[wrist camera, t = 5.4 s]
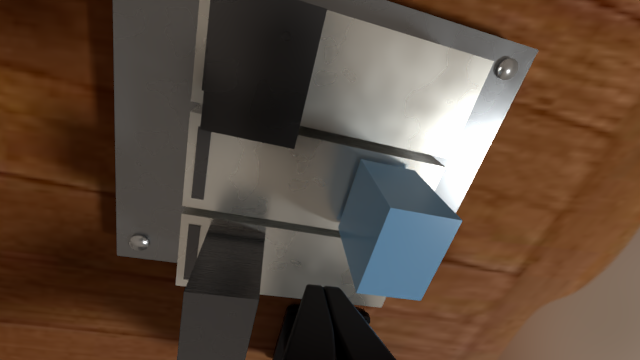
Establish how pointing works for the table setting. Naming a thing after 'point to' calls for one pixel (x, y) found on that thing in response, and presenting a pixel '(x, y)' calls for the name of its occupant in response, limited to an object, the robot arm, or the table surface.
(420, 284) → the blue toggle
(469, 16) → the table surface
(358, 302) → the breaker board
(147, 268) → the table surface
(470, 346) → the table surface
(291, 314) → the robot arm
